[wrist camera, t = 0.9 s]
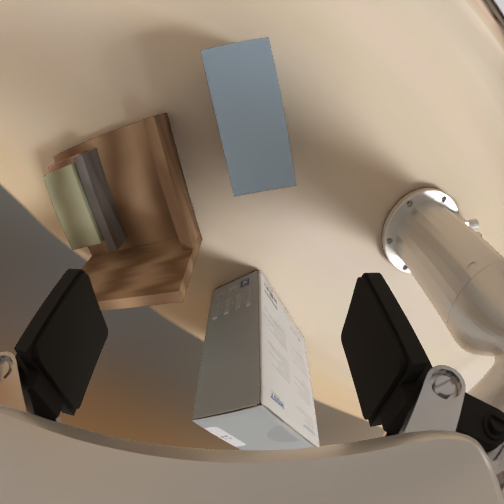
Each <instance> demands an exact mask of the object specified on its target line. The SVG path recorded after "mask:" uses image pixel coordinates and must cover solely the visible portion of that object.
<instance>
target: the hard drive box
mask: <svg viewBox="0 0 504 504" xmlns="http://www.w3.org/2000/svg"><path fill="white" fill-rule="evenodd" d="M192 421H193V422H195V423H197V424H198V425H200V426H201V427H203V428H204V429H206V430H207V431H209V432H211V433H212V434H214V435H216V436H218V437H219V438H221V439H223V440H224V441H226V442H228V443H230V444H231V445H233V446H235V447H237V448H239V449H241V450H283V449H298V448H310V447H320V445H319V437H318V430H317V421H316V414H315V407H314V400H313V393H312V386H311V379H310V373H309V366H308V360H307V353H306V347H305V341H304V337H303V336H302V334H301V333H300V331H299V330H298V328H297V326H296V325H295V323H294V322H293V320H292V319H291V317H290V316H289V314H288V312H287V311H286V309H285V308H284V306H283V305H282V303H281V302H280V300H279V299H278V297H277V296H276V294H275V292H274V291H273V289H272V288H271V286H270V285H269V283H268V282H267V280H266V279H265V277H264V275H263V274H262V273H261V271H254V272H252V273H250V274H248V275H246V276H243V277H241V278H239V279H237V280H235V281H233V282H231V283H229V284H226V285H224V286H222V287H220V288H218V289H215V290H214V291H213V294H212V299H211V305H210V311H209V317H208V322H207V328H206V335H205V341H204V347H203V353H202V360H201V367H200V374H199V380H198V386H197V393H196V400H195V407H194V414H193V419H192Z"/></svg>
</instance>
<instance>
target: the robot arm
mask: <svg viewBox="0 0 504 504" xmlns="http://www.w3.org/2000/svg"><path fill="white" fill-rule="evenodd" d="M478 226H479V223H478V221H477V219H472V220H468V221H466V220H465V219H464V218H463V217H461V216H460V215H459V211H458V209H457V206H456V204H455V202H454V201H453V199H452V198H451V197H450V196H448V195H447V194H446V193H444V192H443V191H441V190H438V189H436V188H420V189H417V190H415V191H412V192H410V193H409V194H407V195H405V196H404V197H403V198H402V199H401V200H399V201H398V203H397V204H396V205H395V206H394V207H393V209H392V210H391V212H390V213H389V215H388V217H387V219H386V222H385V224H384V228H383V232H382V245H383V250H384V253H385V255H386V257H387V258H388V260H389V262H390V263H391V264H392V265H393V266H394V267H395V268H396V269H398V270H400V271H402V272H406V273H412V275H413V276H414V277H415V279H416V280H417V282H418V283H419V285H420V286H421V288H422V289H423V291H424V292H425V294H426V295H427V297H428V298H429V300H430V301H431V303H432V304H433V306H434V307H435V309H436V310H437V312H438V314H439V315H440V317H441V318H442V320H443V322H444V323H445V325H446V327H447V328H448V330H449V332H450V333H451V335H452V337H453V338H454V340H455V341H456V343H457V344H458V345H459V346H460V347H461V348H462V349H464V350H465V351H467V352H469V353H472V354H475V355H481V356H494V357H495V363H494V365H493V366H492V368H491V369H490V370H489V371H488V372H487V373H486V374H485V375H484V377H483V378H482V379H481V380H480V381H479V382H478V383H477V384H476V385H475V386H474V387H473V388H472V389H471V390H470V391H469V392H467V393H466V392H465V382H464V379H463V378H462V376H461V375H460V374H459V373H458V372H457V371H456V370H455V369H453V368H451V367H449V366H445V365H438V366H435V367H432V365H431V363H430V361H429V359H428V357H427V355H426V353H425V351H424V349H423V347H422V345H421V343H420V341H419V340H418V338H417V336H416V334H415V332H414V330H413V328H412V326H411V325H410V323H409V321H408V319H407V317H406V316H405V314H404V312H403V311H402V309H401V307H400V305H399V303H398V302H397V300H396V298H395V297H394V295H393V293H392V291H391V290H390V288H389V286H388V285H387V283H386V281H385V280H384V278H383V276H382V275H381V274H380V273H364V274H363V275H362V277H359V278H358V279H357V282H356V285H355V289H354V293H353V296H352V300H351V303H350V307H349V310H348V314H347V317H346V320H345V324H344V327H343V330H342V334H341V341H342V345H343V348H344V351H345V354H346V358H347V361H348V364H349V368H350V371H351V374H352V378H353V381H354V385H355V388H356V392H357V395H358V399H359V403H360V406H361V410H362V414H363V417H364V418H365V419H368V420H369V424H370V426H377V425H382V426H383V429H384V431H385V432H384V434H383V436H382V437H380V438H375V439H369V440H363V441H358V442H351V443H344V444H336V445H328V446H320V447H310V448H298V449H283V450H240V451H239V450H211V449H196V448H184V447H175V446H166V445H158V444H151V443H145V442H139V441H133V440H127V439H122V438H117V437H112V436H108V435H103V434H99V433H95V432H91V431H87V430H83V429H79V428H76V427H72V426H68V425H65V424H62V423H61V420H60V417H59V414H60V411H62V412H63V413H66V414H70V415H74V414H75V411H76V409H78V408H79V407H80V406H81V403H82V400H83V397H84V395H85V392H86V389H87V386H88V384H89V381H90V378H91V376H92V373H93V371H94V368H95V366H96V363H97V360H98V358H99V355H100V353H101V350H102V348H103V346H104V343H105V341H106V339H107V336H108V329H107V326H106V323H105V320H104V318H103V315H102V313H101V310H100V307H99V304H98V301H97V299H96V296H95V293H94V290H93V287H92V284H91V281H90V277H89V275H88V274H86V273H85V271H84V270H82V269H68V270H67V271H66V272H65V274H64V275H63V276H62V278H61V279H60V280H59V282H58V283H57V284H56V286H55V287H54V288H53V290H52V291H51V293H50V294H49V295H48V297H47V298H46V300H45V301H44V303H43V304H42V306H41V307H40V308H39V310H38V311H37V313H36V315H35V316H34V317H33V319H32V321H31V322H30V324H29V325H28V327H27V328H26V330H25V332H24V333H23V335H22V336H21V338H20V340H19V341H18V343H17V344H16V346H15V348H14V349H15V350H16V352H17V354H16V356H14V355H13V354H12V353H9V352H1V353H0V504H504V257H503V256H502V255H500V254H499V253H498V252H497V251H496V250H495V249H494V248H493V247H492V246H491V245H490V244H489V243H488V242H487V241H485V240H484V239H483V238H482V235H481V233H480V232H475V231H474V230H473V229H477V228H478Z"/></svg>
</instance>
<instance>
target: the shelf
mask: <svg viewBox="0 0 504 504" xmlns="http://www.w3.org/2000/svg"><path fill="white" fill-rule="evenodd" d="M54 159H55V163H56V164H54V165H52V166H50V167H48V169H49V172H50V173H49V174H47V175H45V176H43V179H44V182H45V185H46V188H47V190H48V193H49V196H50V198H51V201H52V204H53V206H54V209H55V211H56V214H57V216H58V218H59V221H60V223H61V226H62V228H63V230H64V232H65V235H66V237H67V239H68V241H69V244H70V246H71V248H72V250H75V249H79V248H83V247H87V246H88V248H89V250H90V252H91V254H92V257H91V258H90V259H89V261H88V262H87V263H86V264H85V266H84V267H83V268H82V270H84V271H85V273H86V274H88V275H89V277H90V281H91V284H92V287H93V290H94V293H95V296H96V299H97V301H98V304H99V307H100V310H101V311H103V310H113V309H122V308H130V307H131V308H132V307H141V306H150V305H158V304H166V303H175V302H182V301H183V300H184V297H185V293H186V290H187V287H188V283H189V280H190V277H191V273H192V270H193V267H194V264H195V261H196V257H197V254H198V251H199V248H200V245H201V242H202V237H201V234H200V230H199V227H198V224H197V220H196V217H195V214H194V210H193V207H192V203H191V200H190V197H189V193H188V190H187V186H186V183H185V179H184V176H183V172H182V168H181V165H180V161H179V158H178V154H177V150H176V146H175V143H174V139H173V135H172V131H171V127H170V124H169V120H168V116H167V113H163V114H160V115H156V116H152V117H149V118H146V119H143V120H142V121H139V122H136V123H133V124H130V125H127V126H125V127H122V128H119V129H116V130H114V131H111V132H109V133H106V134H104V135H101V136H99V137H96V138H94V139H91V140H89V141H87V142H84V143H82V144H80V145H77V146H75V147H73V148H71V149H69V150H66V151H64V152H62V153H60V154H58V155H56V156H54Z"/></svg>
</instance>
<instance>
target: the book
mask: <svg viewBox="0 0 504 504" xmlns="http://www.w3.org/2000/svg"><path fill="white" fill-rule="evenodd" d="M201 55H202V59H203V64H204V68H205V72H206V77H207V81H208V85H209V90H210V94H211V98H212V103H213V107H214V111H215V116H216V120H217V124H218V129H219V133H220V137H221V141H222V146H223V150H224V154H225V159H226V163H227V167H228V171H229V176H230V180H231V184H232V188H233V193H234V196H239V195H245V194H250V193H255V192H261V191H267V190H272V189H278V188H284V187H290V186H296V180H295V173H294V167H293V161H292V155H291V149H290V143H289V137H288V131H287V126H286V120H285V115H284V109H283V104H282V99H281V94H280V89H279V84H278V79H277V74H276V69H275V65H274V60H273V55H272V51H271V46H270V42H269V38H268V37H266V38H259V39H253V40H247V41H242V42H237V43H232V44H227V45H222V46H218V47H213V48H209V49H205V50H201Z"/></svg>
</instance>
